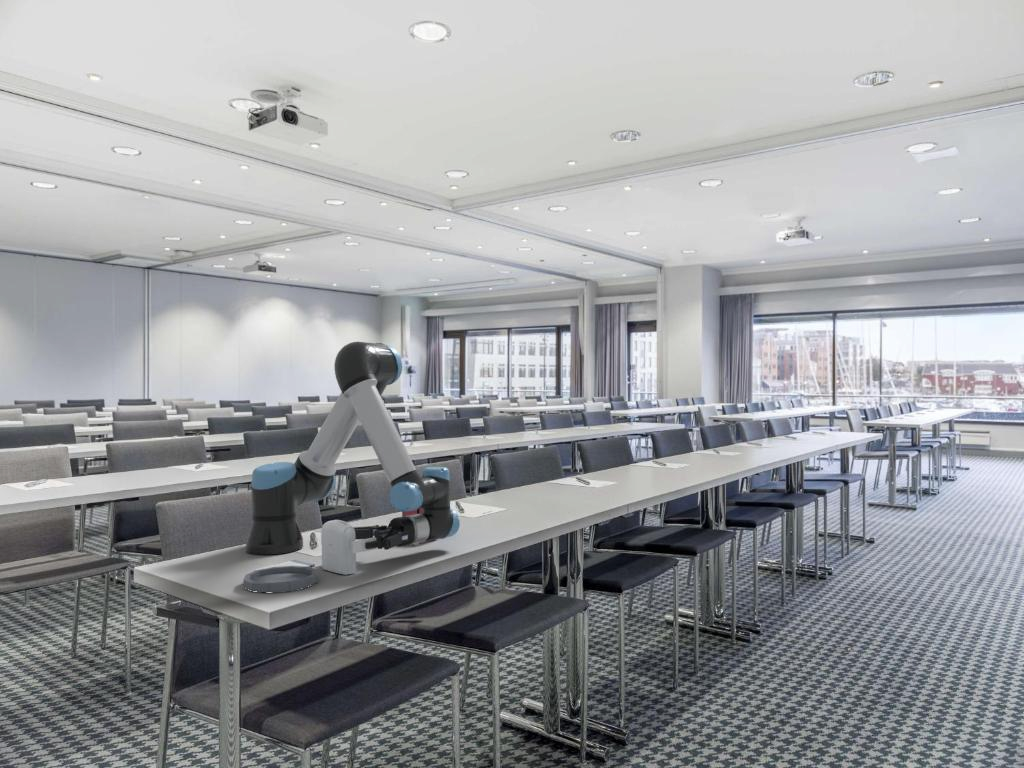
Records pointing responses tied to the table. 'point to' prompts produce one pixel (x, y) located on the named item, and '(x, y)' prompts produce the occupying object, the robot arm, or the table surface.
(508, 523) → the table surface
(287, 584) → the tray
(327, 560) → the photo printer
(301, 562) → the notepad
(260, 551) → the robot arm
